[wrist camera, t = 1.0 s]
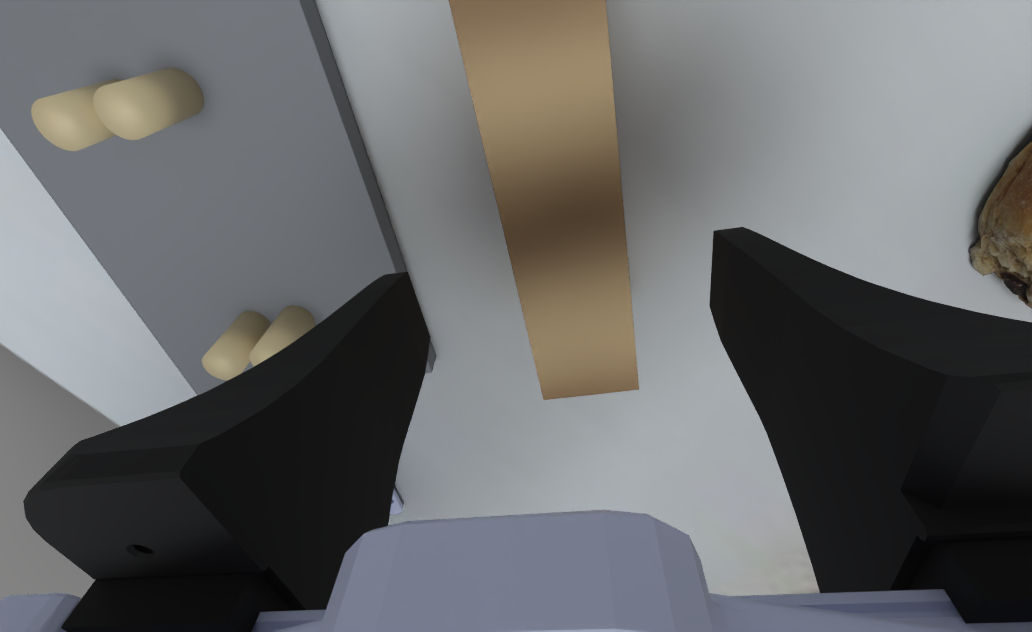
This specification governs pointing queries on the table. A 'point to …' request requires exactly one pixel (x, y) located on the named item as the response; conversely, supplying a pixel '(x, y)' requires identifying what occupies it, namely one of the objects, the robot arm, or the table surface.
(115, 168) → the peg stand
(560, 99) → the oak bar
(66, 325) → the table surface
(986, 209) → the bread roll
